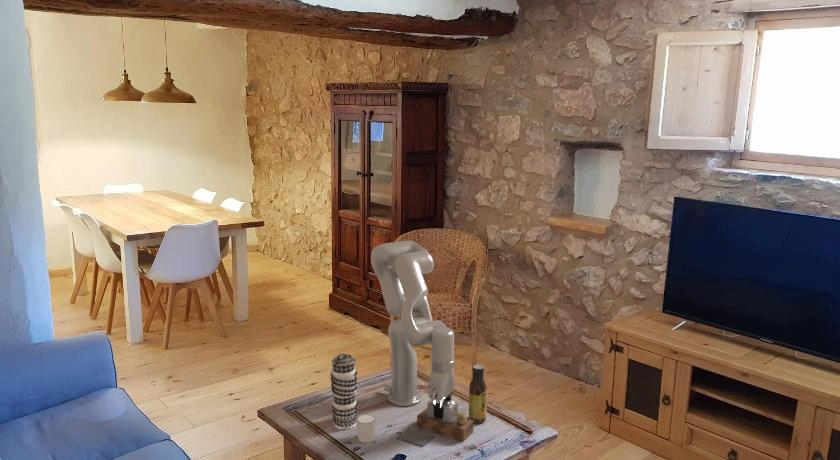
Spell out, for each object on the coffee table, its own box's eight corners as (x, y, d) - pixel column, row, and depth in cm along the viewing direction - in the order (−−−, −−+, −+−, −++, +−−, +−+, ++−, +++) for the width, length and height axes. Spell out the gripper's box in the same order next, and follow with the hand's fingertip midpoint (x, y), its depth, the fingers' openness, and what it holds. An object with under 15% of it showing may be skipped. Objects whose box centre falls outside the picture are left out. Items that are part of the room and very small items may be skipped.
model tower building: (344, 414, 227) (342, 349, 221) (363, 421, 221) (362, 355, 216) (326, 425, 219) (323, 357, 214) (346, 433, 214) (344, 364, 209)
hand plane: (417, 427, 217) (417, 407, 216) (427, 418, 223) (427, 399, 222) (463, 441, 208) (463, 420, 207) (473, 432, 214) (473, 412, 213)
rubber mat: (397, 438, 211) (397, 437, 210) (408, 429, 216) (408, 427, 216) (422, 446, 205) (422, 445, 205) (433, 437, 211) (433, 435, 211)
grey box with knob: (427, 415, 216) (427, 400, 214) (434, 409, 220) (434, 394, 219) (450, 422, 211) (450, 407, 210) (457, 416, 215) (457, 401, 214)
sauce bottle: (485, 425, 219) (486, 371, 215) (467, 423, 220) (468, 370, 216) (487, 416, 225) (488, 364, 221) (469, 414, 226) (470, 362, 222)
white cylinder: (368, 445, 206) (368, 426, 205) (351, 439, 210) (351, 420, 208) (380, 436, 212) (380, 417, 211) (364, 430, 216) (364, 411, 214)
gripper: (445, 353, 221) (444, 401, 224) (419, 371, 206) (420, 422, 210) (464, 358, 217) (463, 406, 220) (440, 376, 202) (439, 428, 206)
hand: (442, 413), depth 215 cm, fingers closed on grey box with knob, 5 cm apart
